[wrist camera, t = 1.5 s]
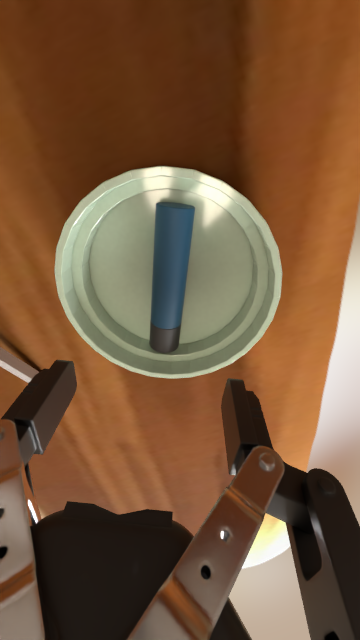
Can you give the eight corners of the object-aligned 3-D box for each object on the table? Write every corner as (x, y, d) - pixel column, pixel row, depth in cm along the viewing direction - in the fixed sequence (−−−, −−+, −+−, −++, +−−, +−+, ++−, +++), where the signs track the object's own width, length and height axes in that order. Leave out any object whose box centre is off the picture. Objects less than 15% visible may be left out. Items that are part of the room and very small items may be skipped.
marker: (158, 200, 22) (152, 205, 19) (195, 204, 22) (195, 209, 19) (151, 334, 29) (147, 351, 26) (179, 337, 29) (177, 355, 26)
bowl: (63, 154, 21) (33, 150, 17) (295, 181, 21) (319, 183, 17) (85, 342, 30) (70, 368, 27) (242, 359, 31) (250, 387, 27)
